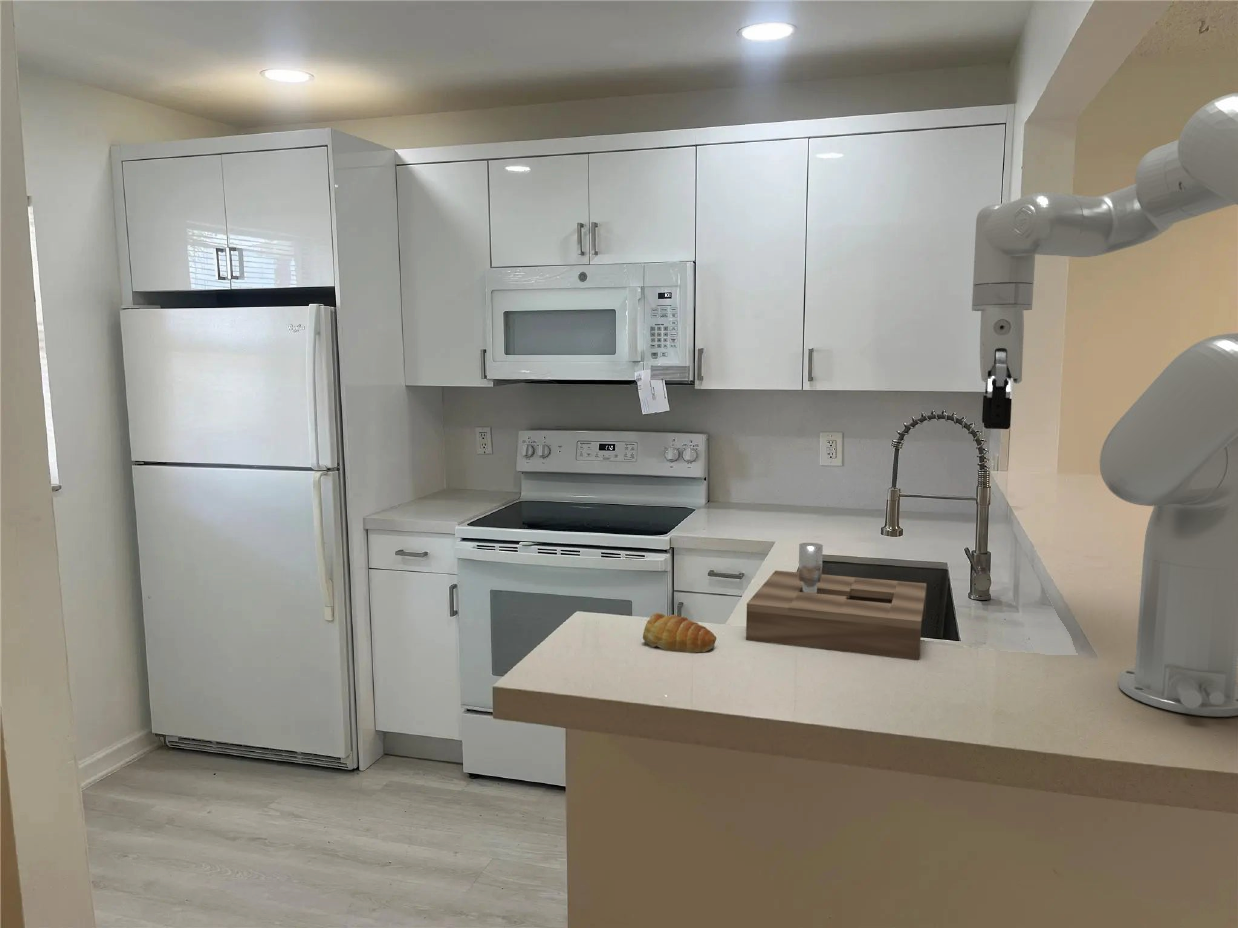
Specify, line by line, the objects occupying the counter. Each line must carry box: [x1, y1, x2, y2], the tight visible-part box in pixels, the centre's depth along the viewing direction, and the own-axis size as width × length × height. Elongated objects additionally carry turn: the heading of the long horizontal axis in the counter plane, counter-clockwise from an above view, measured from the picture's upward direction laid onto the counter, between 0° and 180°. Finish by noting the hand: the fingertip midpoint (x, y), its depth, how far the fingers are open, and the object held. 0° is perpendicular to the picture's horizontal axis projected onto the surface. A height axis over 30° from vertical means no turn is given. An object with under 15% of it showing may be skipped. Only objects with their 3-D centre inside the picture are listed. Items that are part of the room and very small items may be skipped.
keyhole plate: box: [745, 569, 927, 661], centre depth 124 cm, size 20×22×5 cm
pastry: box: [642, 612, 717, 654], centre depth 117 cm, size 9×7×4 cm
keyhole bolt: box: [798, 542, 824, 594], centre depth 125 cm, size 4×4×12 cm
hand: (995, 426), depth 122 cm, fingers open, 9 cm apart
